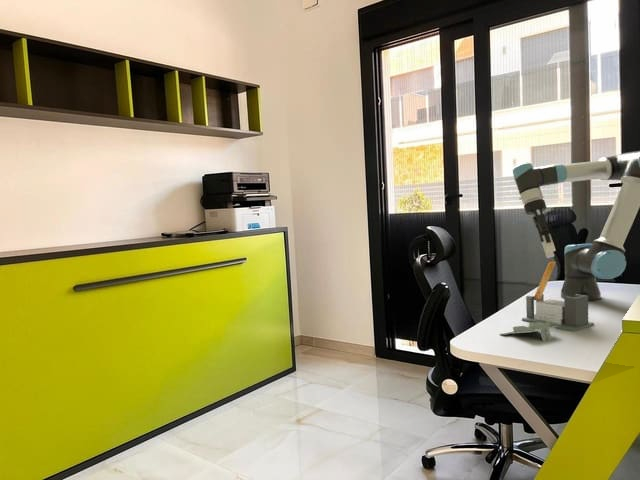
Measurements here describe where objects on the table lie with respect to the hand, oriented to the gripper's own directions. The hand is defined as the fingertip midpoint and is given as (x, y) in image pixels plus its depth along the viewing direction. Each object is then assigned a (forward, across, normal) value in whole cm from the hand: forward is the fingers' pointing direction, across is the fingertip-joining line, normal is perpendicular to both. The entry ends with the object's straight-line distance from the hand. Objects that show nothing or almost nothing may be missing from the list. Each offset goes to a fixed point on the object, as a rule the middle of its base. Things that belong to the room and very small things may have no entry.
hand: (551, 254), depth 179 cm
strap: (+10, +7, -5) cm, 13 cm away
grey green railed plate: (+24, +5, -6) cm, 26 cm away
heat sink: (+23, +4, -7) cm, 24 cm away
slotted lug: (+26, +10, 0) cm, 28 cm away
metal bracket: (+28, +22, -15) cm, 39 cm away
